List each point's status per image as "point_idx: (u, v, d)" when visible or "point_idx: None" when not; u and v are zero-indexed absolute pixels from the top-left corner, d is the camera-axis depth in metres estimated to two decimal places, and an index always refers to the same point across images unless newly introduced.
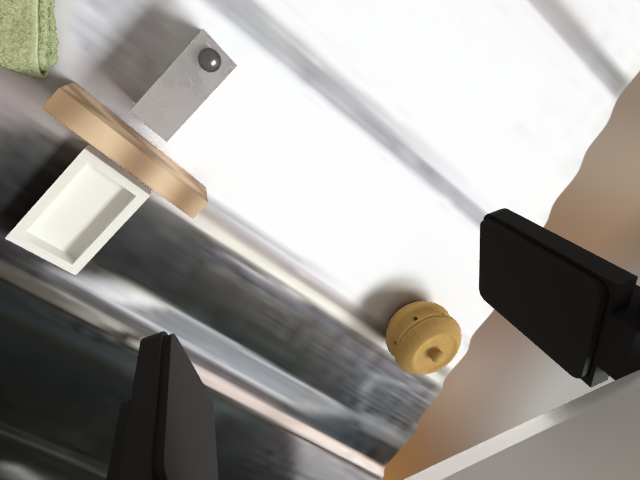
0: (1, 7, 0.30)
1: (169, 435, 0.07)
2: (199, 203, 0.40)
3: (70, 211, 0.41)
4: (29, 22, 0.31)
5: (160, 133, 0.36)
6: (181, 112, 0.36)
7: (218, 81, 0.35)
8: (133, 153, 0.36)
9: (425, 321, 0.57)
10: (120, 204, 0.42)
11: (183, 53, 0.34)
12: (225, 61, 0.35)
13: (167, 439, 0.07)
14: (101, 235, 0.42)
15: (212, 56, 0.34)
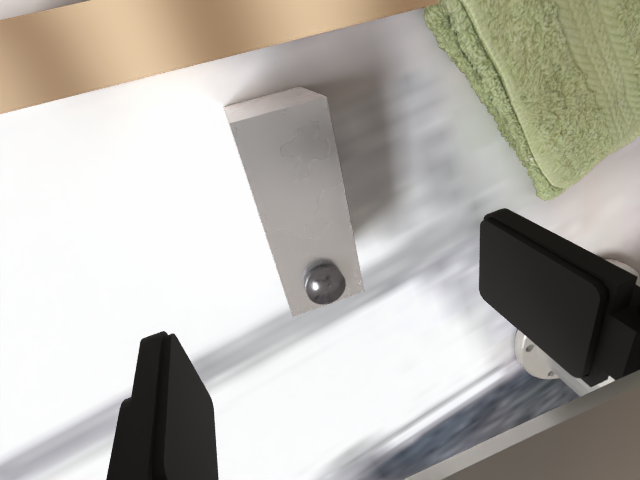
0: (529, 17, 0.18)
1: (169, 435, 0.07)
2: (6, 90, 0.12)
3: None
4: (495, 38, 0.18)
5: (253, 123, 0.15)
6: (270, 191, 0.16)
7: (285, 280, 0.18)
8: (243, 31, 0.13)
9: None
10: None
11: (353, 248, 0.18)
12: (307, 302, 0.19)
13: (167, 439, 0.07)
14: None
15: (329, 293, 0.19)
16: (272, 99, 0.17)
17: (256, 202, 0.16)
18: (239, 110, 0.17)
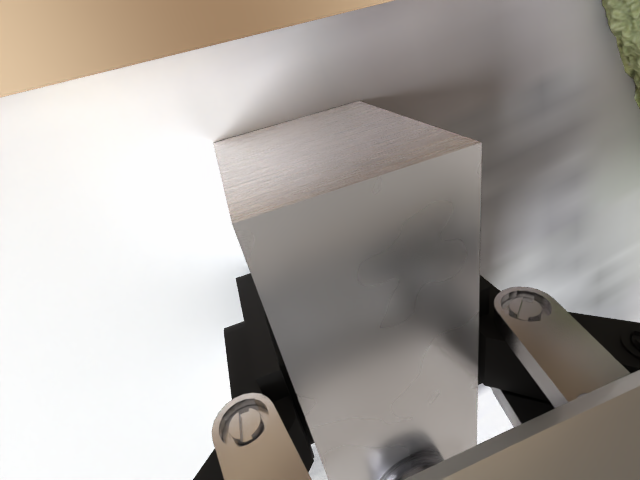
0: None
1: None
2: None
3: None
4: None
5: (297, 218, 0.05)
6: (328, 355, 0.07)
7: None
8: None
9: None
10: None
11: (472, 420, 0.09)
12: None
13: None
14: None
15: None
16: (320, 134, 0.08)
17: (294, 380, 0.07)
18: (251, 163, 0.07)
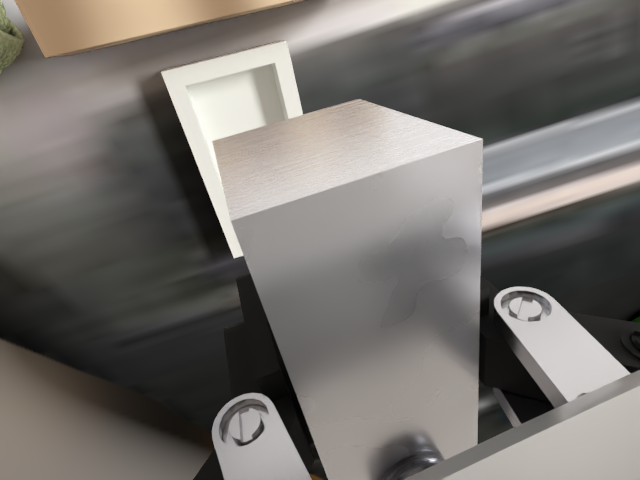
0: None
1: None
2: None
3: None
4: None
5: (296, 216, 0.05)
6: (327, 354, 0.07)
7: None
8: None
9: None
10: (274, 102, 0.25)
11: (473, 420, 0.09)
12: None
13: None
14: None
15: None
16: (319, 132, 0.08)
17: (293, 379, 0.07)
18: (250, 161, 0.07)
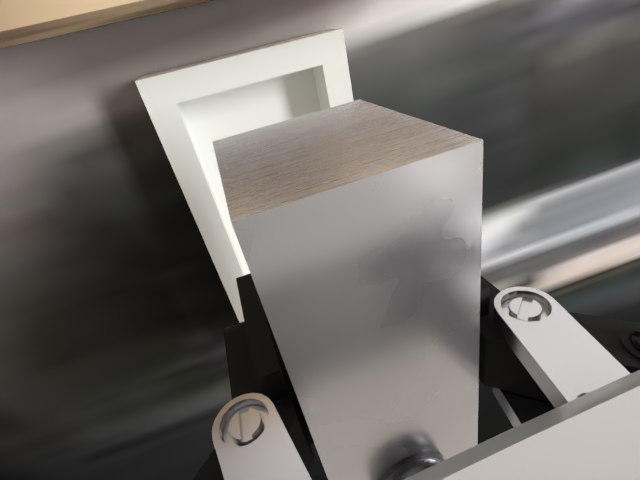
0: None
1: None
2: None
3: None
4: None
5: (296, 216, 0.05)
6: (327, 355, 0.07)
7: None
8: None
9: None
10: None
11: (473, 420, 0.09)
12: None
13: None
14: None
15: None
16: (319, 133, 0.08)
17: (294, 380, 0.07)
18: (250, 162, 0.07)
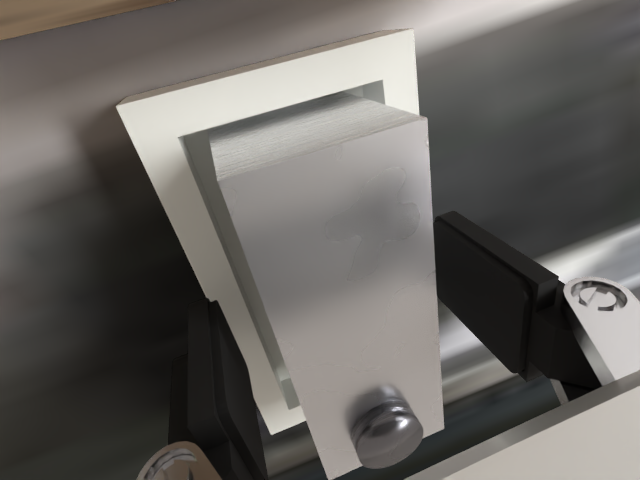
0: None
1: (225, 381, 0.08)
2: None
3: None
4: None
5: (271, 179, 0.07)
6: (302, 303, 0.08)
7: (321, 434, 0.10)
8: None
9: None
10: None
11: (437, 374, 0.11)
12: (354, 458, 0.11)
13: (225, 383, 0.08)
14: None
15: (394, 452, 0.11)
16: (298, 116, 0.09)
17: (273, 325, 0.08)
18: (237, 140, 0.08)
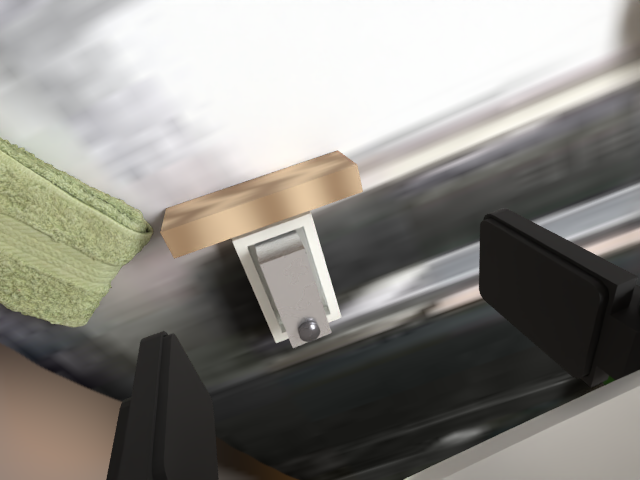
0: (73, 231, 0.29)
1: (169, 435, 0.07)
2: (351, 174, 0.30)
3: None
4: (93, 216, 0.29)
5: (270, 263, 0.31)
6: (279, 290, 0.33)
7: (288, 330, 0.35)
8: (258, 206, 0.29)
9: None
10: (302, 242, 0.37)
11: (323, 312, 0.35)
12: (300, 340, 0.36)
13: (167, 439, 0.07)
14: (320, 277, 0.38)
15: (311, 336, 0.35)
16: (279, 240, 0.34)
17: (272, 295, 0.33)
18: (262, 249, 0.33)
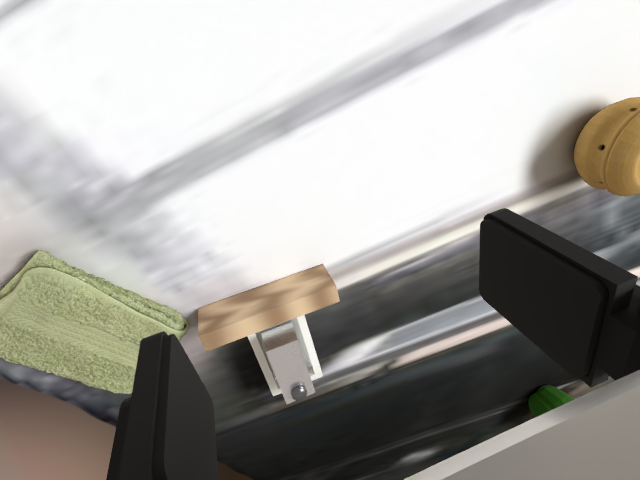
0: (135, 333, 0.41)
1: (169, 435, 0.07)
2: (332, 291, 0.43)
3: None
4: (150, 323, 0.41)
5: (273, 350, 0.44)
6: (279, 367, 0.46)
7: (284, 392, 0.48)
8: (267, 315, 0.42)
9: (616, 143, 0.43)
10: (295, 325, 0.50)
11: (310, 379, 0.48)
12: (292, 398, 0.49)
13: (167, 439, 0.07)
14: (308, 350, 0.51)
15: (300, 396, 0.48)
16: (278, 328, 0.47)
17: (273, 370, 0.46)
18: (267, 336, 0.46)
